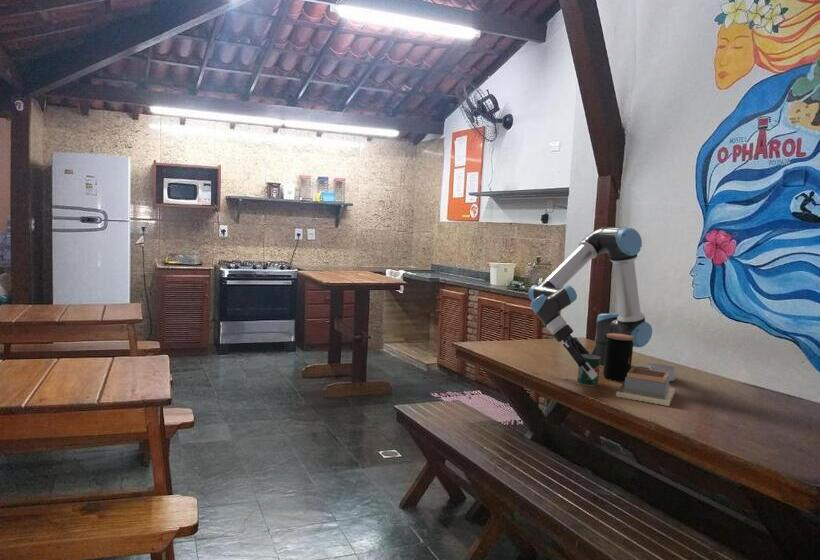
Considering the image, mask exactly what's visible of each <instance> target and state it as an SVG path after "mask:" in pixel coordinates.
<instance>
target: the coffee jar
mask: <svg viewBox="0 0 820 560" xmlns="http://www.w3.org/2000/svg"><path fill="white" fill-rule="evenodd" d="M607 338H608V339H607V340H606V349H605V359H604V364H603V371H602V375H603V377H604V378H605V379H606V378H607V380H609V379H611V380H610V381H613V380H616V381H615V382H625V377H626V376H627V373H628V372H629V371H630V369H631V366H632V359H633V351H634V347H633V342H632V341H633V340H634V337H633V336H630V335H625V334H616V333H610V334H607Z"/></svg>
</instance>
